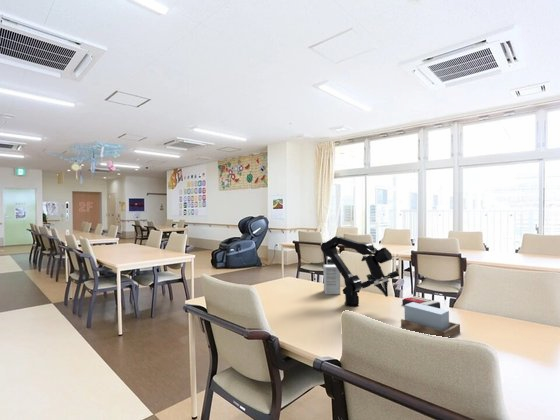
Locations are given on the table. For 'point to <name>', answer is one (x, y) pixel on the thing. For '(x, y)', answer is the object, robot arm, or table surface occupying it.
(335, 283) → the supplement box
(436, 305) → the calculator
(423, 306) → the slate box
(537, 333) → the table surface
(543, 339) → the table surface
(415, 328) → the frame
